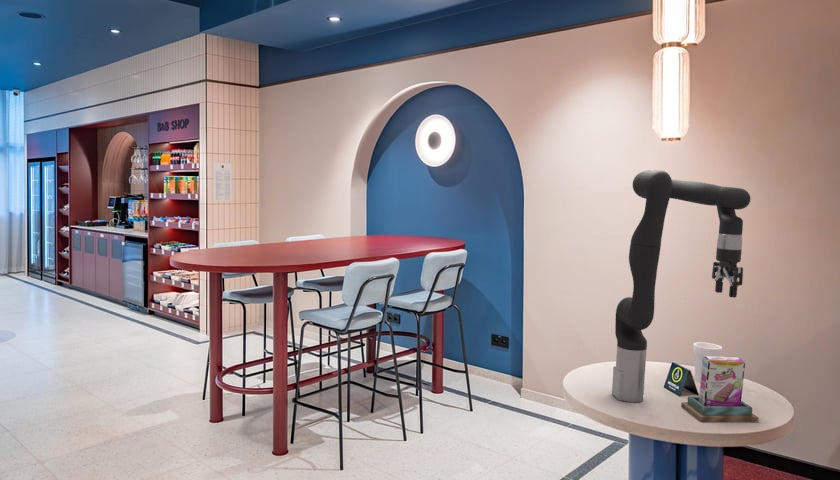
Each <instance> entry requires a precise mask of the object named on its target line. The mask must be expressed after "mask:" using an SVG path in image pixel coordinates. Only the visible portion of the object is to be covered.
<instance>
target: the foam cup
mask: <svg viewBox="0 0 840 480" xmlns="http://www.w3.org/2000/svg"><path fill="white" fill-rule="evenodd" d="M692 350H693V363H694V377H695V380H696V381H697V382H701V371H702V360H703V356H720V357H722V356H721V355H722V354H723V352H722V351H723V346H721V345H719V344H716V343H712V342H704V341H697V342H694V343H693V347H692Z"/></svg>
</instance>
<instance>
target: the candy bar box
mask: <svg viewBox="0 0 840 480" xmlns="http://www.w3.org/2000/svg"><path fill="white" fill-rule="evenodd" d="M745 367H746V361H744V360H743V359H741V358H739V357H736V356H735V357H734V356H703V360H702V371H701V382H700V384H699V385H700V386H699V393H698V396H699V402H700V403H701V404H702V405H704V406H741V401H742V397H743V387H744V386H743V385H744V379H745V378H744V377H745V370H746V368H745Z"/></svg>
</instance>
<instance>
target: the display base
mask: <svg viewBox="0 0 840 480" xmlns="http://www.w3.org/2000/svg"><path fill="white" fill-rule="evenodd" d="M680 404H681V405H680V406H681V409H683V410H685V411H686V412H687V413H688V414H689V415H691V416H693V417H694V418H695V419H696V420H697V421H699V422H700V423H759V416H757V415H756V414H755V413H753V407H752V406H750V405H749V404H747V403H746V402H744V401H743V400H741V406H704V405H702V404H701V403H700V402H699V395H697V396H693V395H692V396H690V395H689V396H687V402H685V401H683V402H681V403H680Z"/></svg>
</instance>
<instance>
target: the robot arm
mask: <svg viewBox="0 0 840 480" xmlns="http://www.w3.org/2000/svg"><path fill="white" fill-rule="evenodd" d="M632 190H633V191H634V193H635V195H636V196H638V197H640V198H642V199H644V200H645V204H644V205H645V206H644V211H643V215H642V217H641V220H640V221H639V222H638V225H637V227H635V230H634V231H633V234H632V235H631V238H630V245H629V253H628V263H629V268H630V273H631V277H632V282H633V287H632V297H631V296H629V297H624V298H623V299H621V300H620V301H619V302H618V303H617V306H616V310H615V323H614V324H615V325H614V327H615V328H614V329H615V331H614V332H615V333H614V335H615V337H616V341H617V343H616V357H615V358H616V360H615V366H613V371H612V385H611V386H612V387H611V394H612V396H613V397H614V398H616V400H618V401H622V402H628V403H629V402H630V403H639V402H642V401H643V400H644V394H645V392H644V391H645V380H646V379H645V377H646V363H647V362H646V361H647V360H646V359H647V349H648V348H647V347H648V341H647V338H646V337H645V335H644V334H643V332H642V330H646V329H648V327H649V326H650V325H651V324H652V322H653V319H654V316H655V300H656V299H655V298H656V297H655V295H656V294H655V293H656V282H657V274H658V266H659V261H660V253H661V247H662V237H663V232H664V226H665V219H666V214H667V211H668V206H669V202H670V199H675V200H678V201H685V202H689V203H694V204H697V205H699V204H700V205H704V206H705V205H706V206H712V207H713V206H716V210H717V214H718V215H717V216H718V219H719V220H718V221H719V227H718V236H717V241H716V254H715V255H716V256H715V260H716V261H713V264H712V273H711V279H712V280H714V282H715V286H714V289H715V290H714V292H715V293H717V294H719V293H723V289H724V288H723V287H724V282H723V281H724V279H725V278H726V280H727V281H728V283H729V291H728V292H729V293H728V297H729V298H737V295H738V287H739V286H742V285H743V282H744V281H743V280H744V279H743V278H744V267H743V266H738V263H740V262H741V261H742V250H743V249H742V248H743V230H744V229H743V225H744V220H743V218H741V217H739V216H737V212H736V210H739V211H740V210H743V209H745V208H747V207H748V206H749V205H750V204H751V200H752V199H751V195H750V193H749V192H748V191H747V190H746V189H743V188H740V187H734V186H733V187H732V186H722V185H716V184H713V183H707V182H701V181H690V180H688V181H687V180H679V179H678V180H677V179H672V177H671V176H670V174H669V173H668V172H667V171H665V170H644V171H641V172H639V173H637V174H636V175H635V177H634V179H633V180H632Z"/></svg>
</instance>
